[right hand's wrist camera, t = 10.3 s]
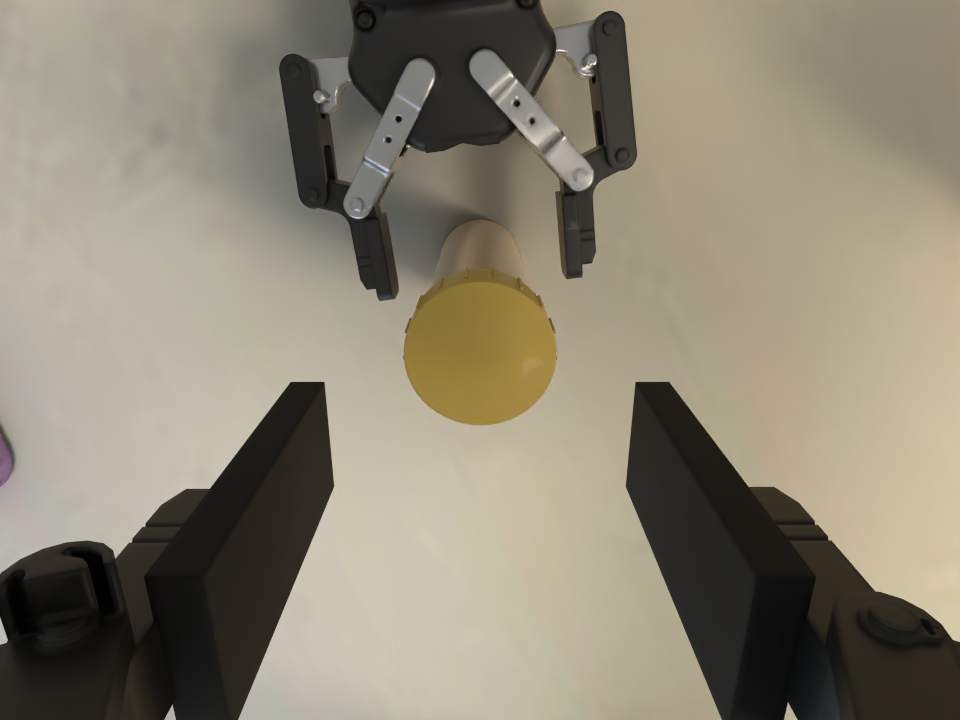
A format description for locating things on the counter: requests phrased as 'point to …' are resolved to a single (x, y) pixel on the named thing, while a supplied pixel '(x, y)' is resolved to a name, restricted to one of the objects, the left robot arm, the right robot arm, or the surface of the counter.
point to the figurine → (4, 462)
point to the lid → (480, 347)
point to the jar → (480, 251)
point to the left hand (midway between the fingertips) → (480, 285)
